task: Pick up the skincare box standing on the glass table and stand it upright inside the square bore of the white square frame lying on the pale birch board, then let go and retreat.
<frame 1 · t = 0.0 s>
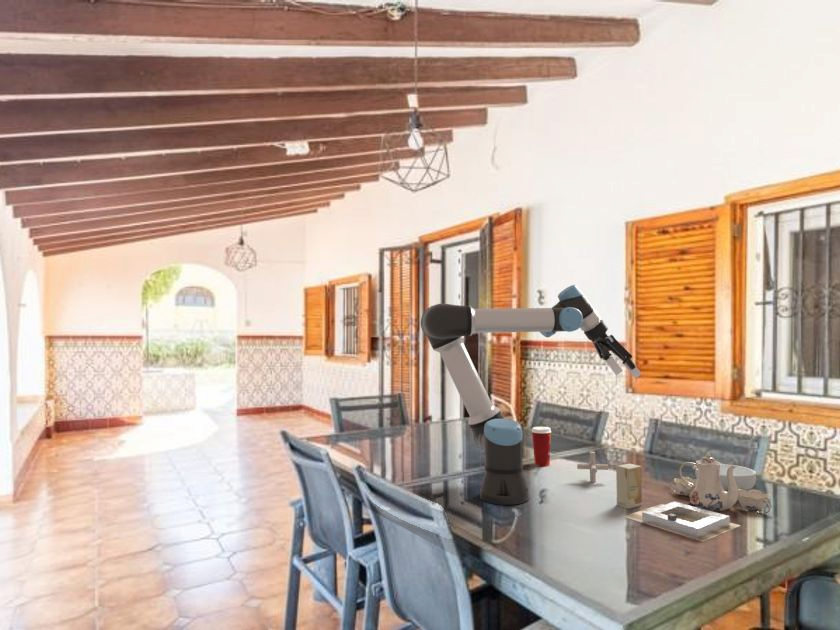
hand: (628, 374, 189), 36 cm above the table, tool tilted 35°, fingers open, 13 cm apart
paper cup: (542, 465, 211), on the table
pipe connector: (592, 482, 186), on the table
white square frame: (685, 523, 143), resting on board
chinaware: (714, 508, 158), on the table
cereal bowl: (725, 492, 173), on the table
skincare box: (629, 508, 159), on the table
board: (680, 524, 145), on the table
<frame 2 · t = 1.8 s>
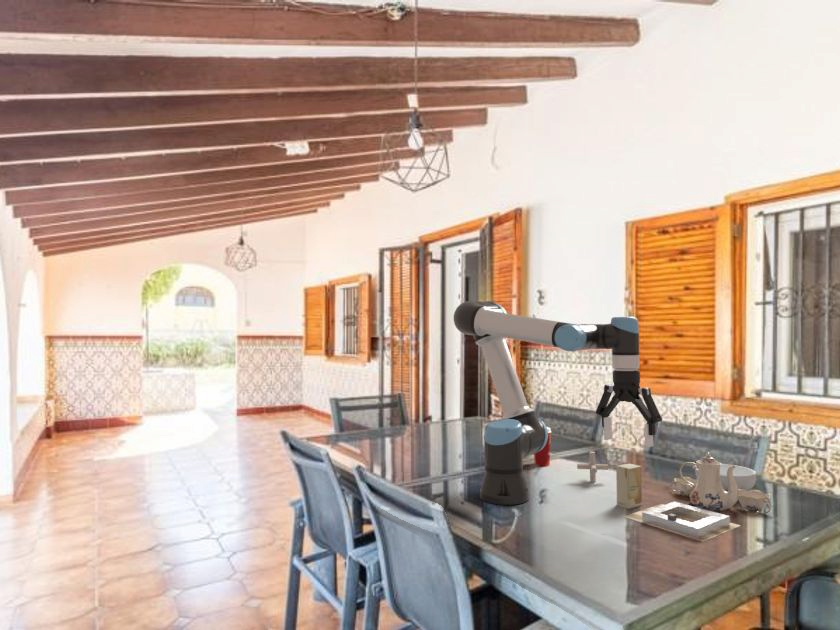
hand: (628, 442, 160), 19 cm above the table, tool pointing down, fingers open, 13 cm apart
nothing on the table moved.
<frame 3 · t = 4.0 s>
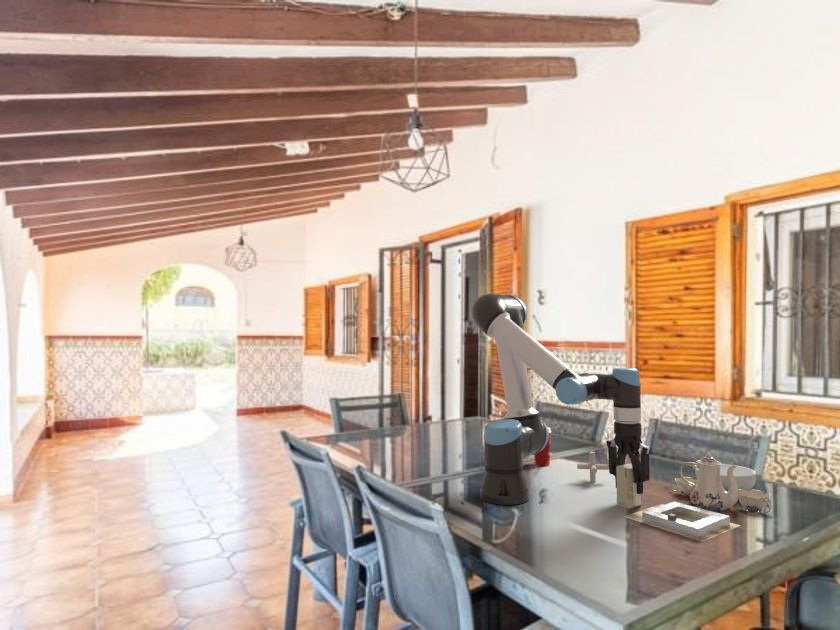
hand: (629, 502, 159), 2 cm above the table, tool pointing down, fingers closed on skincare box, 4 cm apart
skincare box: (629, 508, 159), on the table, touching gripper
everything else where it was.
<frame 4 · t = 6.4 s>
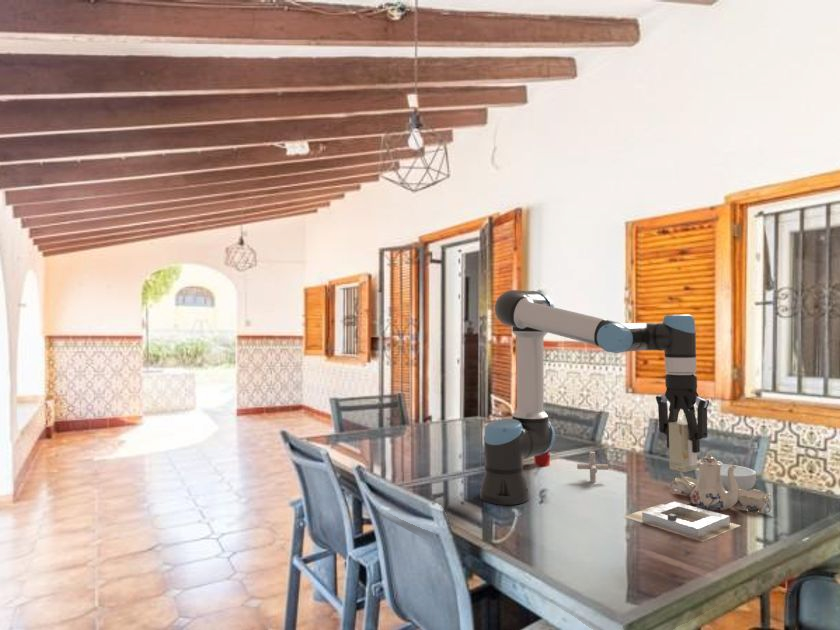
hand: (683, 462, 143), 17 cm above the table, tool pointing down, fingers closed on skincare box, 4 cm apart
skincare box: (683, 470, 143), point 15 cm above the table, touching gripper
everything else where it was.
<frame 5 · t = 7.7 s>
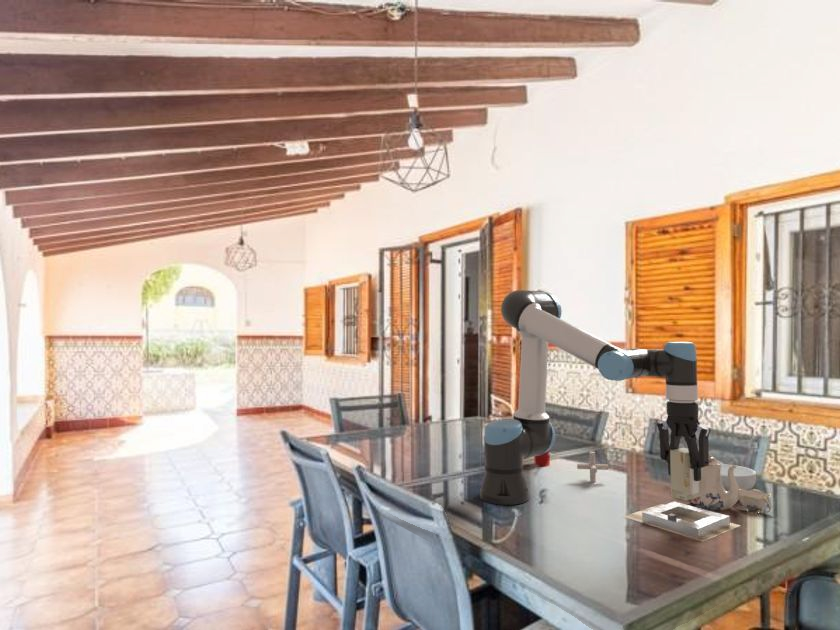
hand: (685, 490, 143), 10 cm above the table, tool pointing down, fingers closed on skincare box, 4 cm apart
skincare box: (685, 497, 143), point 8 cm above the table, touching gripper
everything else where it was.
when the fingers open (4 cm above the table, at t = 8.9 s): skincare box drops 1 cm, resting on board.
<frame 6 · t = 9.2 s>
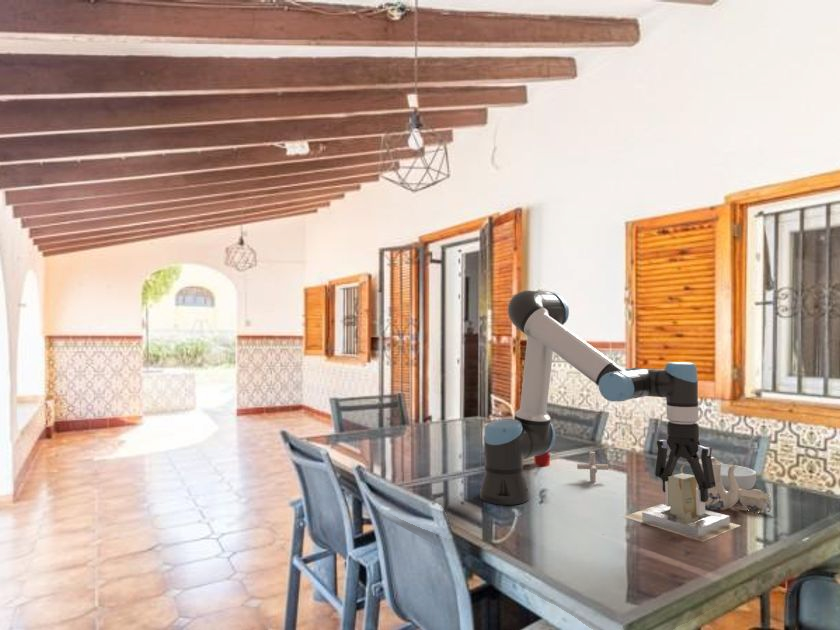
hand: (685, 509, 143), 5 cm above the table, tool pointing down, fingers open, 8 cm apart
skincare box: (685, 524, 143), point 1 cm above the table, touching board
everything else where it was.
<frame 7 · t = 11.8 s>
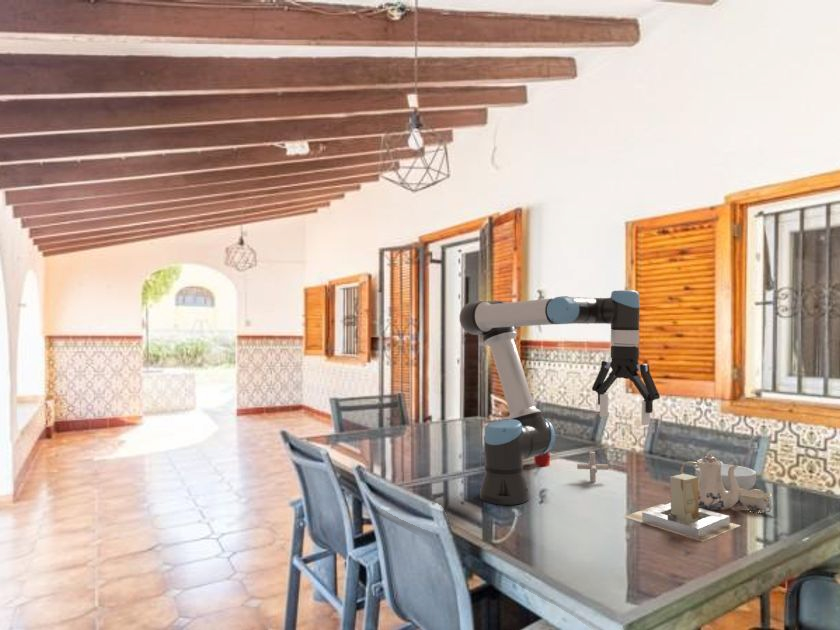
hand: (623, 420, 155), 26 cm above the table, tool pointing down, fingers open, 13 cm apart
nothing on the table moved.
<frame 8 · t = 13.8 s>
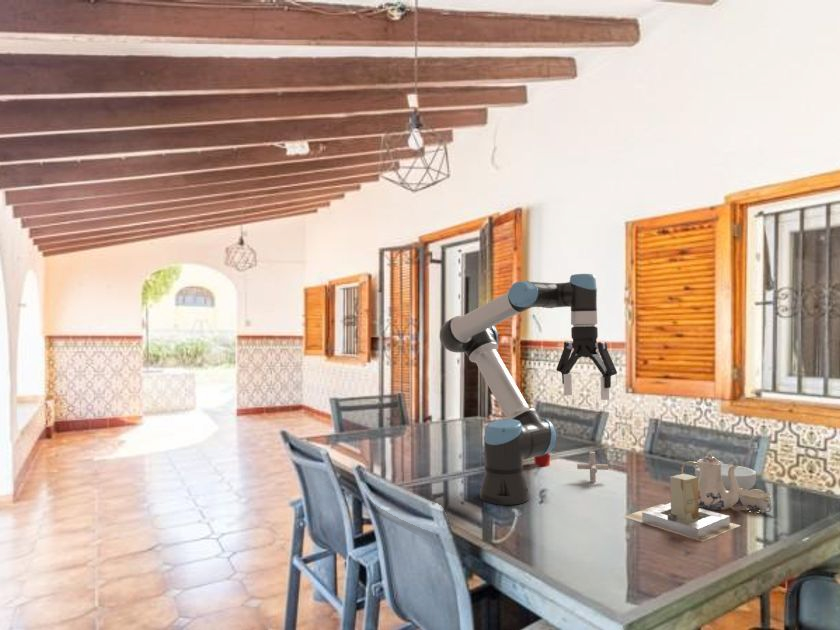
hand: (585, 397, 163), 32 cm above the table, tool pointing down, fingers open, 13 cm apart
at the end: skincare box 0.1 cm off-centre on the white square frame, point 0.0 cm above the white square frame's base; skincare box tilted 0°; the gripper is holding nothing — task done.
